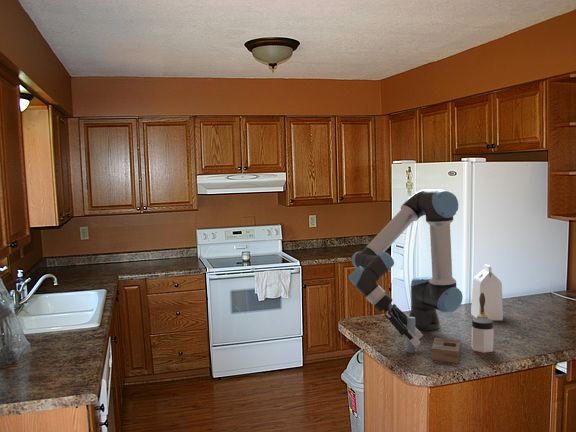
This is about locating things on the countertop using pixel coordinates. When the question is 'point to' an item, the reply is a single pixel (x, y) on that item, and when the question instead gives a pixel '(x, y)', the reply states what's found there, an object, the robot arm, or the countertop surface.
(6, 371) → the countertop surface
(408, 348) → the peg
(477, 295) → the milk
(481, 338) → the jar
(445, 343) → the hole block
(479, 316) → the hand bell
